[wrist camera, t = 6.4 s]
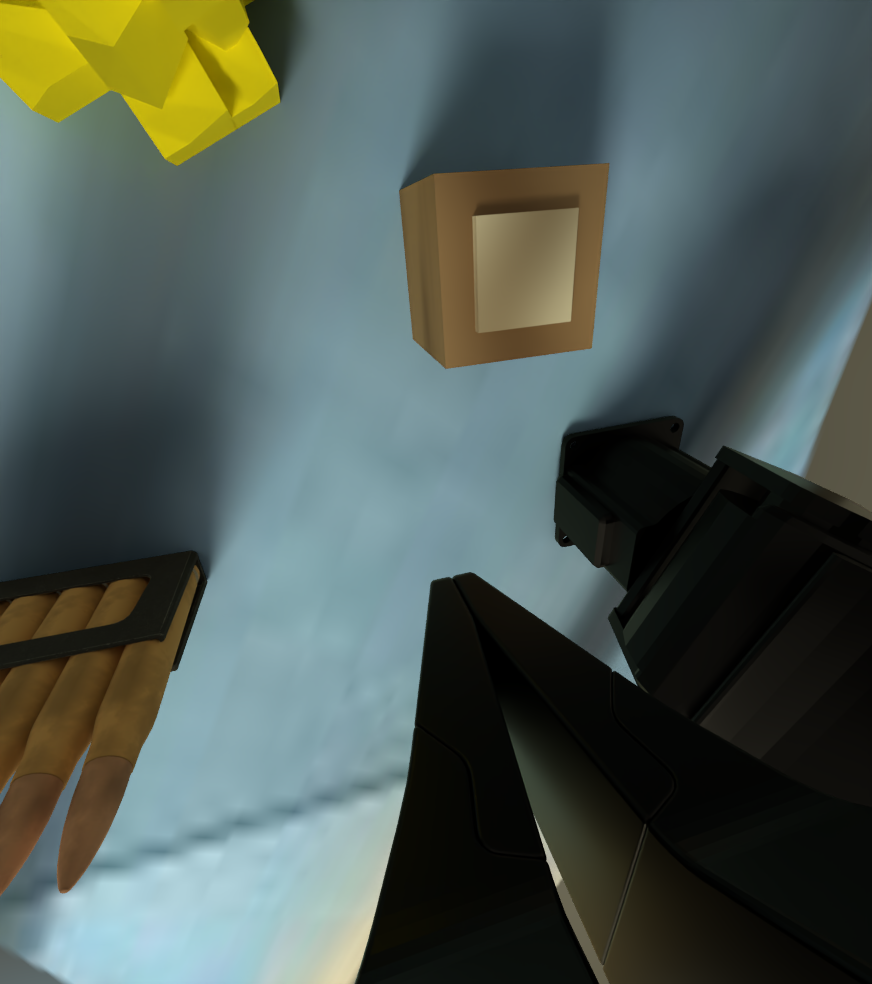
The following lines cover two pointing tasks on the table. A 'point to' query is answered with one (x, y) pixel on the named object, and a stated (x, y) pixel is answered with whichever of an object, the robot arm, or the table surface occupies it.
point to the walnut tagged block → (504, 261)
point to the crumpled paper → (140, 64)
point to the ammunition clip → (84, 694)
